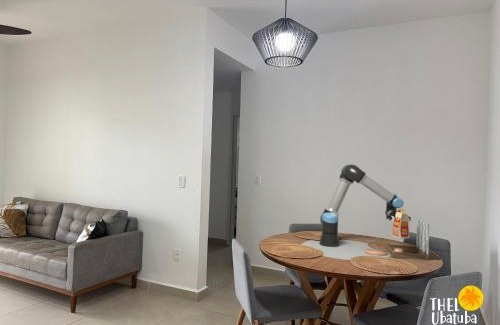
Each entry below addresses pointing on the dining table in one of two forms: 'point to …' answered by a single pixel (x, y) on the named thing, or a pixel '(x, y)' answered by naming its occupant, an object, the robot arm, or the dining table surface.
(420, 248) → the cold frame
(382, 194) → the robot arm
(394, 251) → the peach rounded knob
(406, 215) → the milk carton
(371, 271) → the dining table surface
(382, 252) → the tan round dome
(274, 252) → the dining table surface
